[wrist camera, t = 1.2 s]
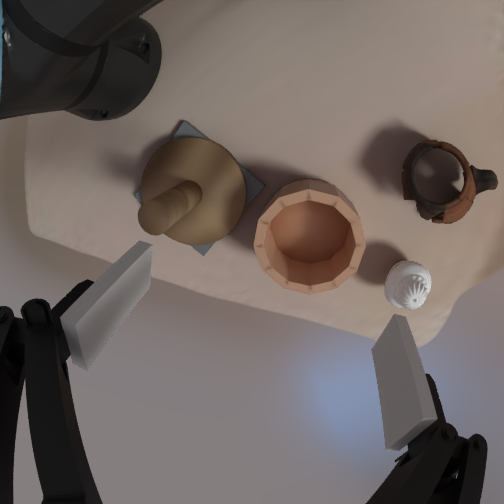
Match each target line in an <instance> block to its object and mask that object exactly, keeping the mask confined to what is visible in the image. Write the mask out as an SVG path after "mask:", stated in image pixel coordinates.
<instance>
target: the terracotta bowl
mask: <svg viewBox="0 0 504 504" xmlns="http://www.w3.org/2000/svg"><path fill="white" fill-rule="evenodd" d="M253 247H254V249H255V252H256V254H257V257H258V260H259V262H260V265H261V268H262V270H263V272H265V273H266V274H267V275H268V276H269V277H271V278H272V279H273V280H274V281H275V282H277V283H278V284H279V285H280V286H281V287H283V288H285V289H289V290H293V291H298V292H302V293H306V294H314V293H318V292H322V291H327V290H331V289H335V288H337V287H339V286H340V285H341V284H342V283H343V282H344V281H346V280H347V279H348V278H349V277H350V276H352V275H353V274H354V273H355V272H356V271H357V269H358V267H359V264H360V261H361V258H362V256H363V253H364V250H365V247H366V242H365V238H364V233H363V229H362V224H361V220H360V217H359V215H358V213H357V211H356V209H355V207H354V205H353V203H352V202H351V201H350V200H349V199H348V198H347V197H346V196H345V195H344V193H343V192H341V191H340V190H339V189H338V188H337V187H336V186H335V185H331V184H329V183H327V182H324V181H321V180H315V179H304V180H298V181H295V182H292V183H289V184H288V185H285V186H283V187H282V188H281V189H280V190H279V191H278V192H276V193H275V194H274V196H273V197H272V198H271V200H270V201H269V202H268V203H267V204H266V205H265V207H264V209H263V211H262V213H261V215H260V217H259V219H258V224H257V229H256V235H255V240H254V245H253Z"/></svg>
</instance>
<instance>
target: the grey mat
mask: <svg viewBox="0 0 504 504" xmlns="http://www.w3.org/2000/svg"><path fill="white" fill-rule="evenodd" d="M187 137H200V138H205V139H208V140H210V139H209V138H208V137H207V136H205V135H204V134H203V133H201V132H200V131H199V130H198V129H196V128H195V127H194V126H193V125H191V124H190V123H189V122H188V121H184V122H183V124H182V125H181V126H180V128H179V129H178V131H177V132H176V133H175V135H174V136H173V138H172V139H171V141H174V140H177V139H181V138H187ZM171 141H170V142H171ZM239 165H240V167H241V169H242V171H243V174H244V177H245V180H246V186H247V199H246V205H245V208H246V206H247V205H248V204H249V203H250V202H251V201H252V200H253V199H254V197H255V196H256V195H257V194H258V193H259V192H260V191H261V190H262V189H263V187H264V186H265V185H264V184H263V183H262V182H261V181H260V180H258V179H257V178H256V177H255V176H254V175H253V174H251V173H250V172H249V171H248V170H247V169H245V168H244V167H243V166H242V165H241V164H240V163H239ZM135 198H136V199H137V200H138V201H140V202H141V203H142V204H144V203H143V198H142V185H141V187H140V188H139V190H138V192H137V193H136V195H135ZM214 243H215V242H213V243H211V244H206V245H191V246H192V247H193V248H194V249H196V250H197V251H198V252H199V253H200V254H202V255H203V256H204V255H205V254H206V252H207V251H208V250H209V249H210V248H211V247H212V245H213V244H214Z"/></svg>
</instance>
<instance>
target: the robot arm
mask: <svg viewBox="0 0 504 504" xmlns="http://www.w3.org/2000/svg"><path fill="white" fill-rule="evenodd" d="M162 1H163V0H0V120H1V119H6V118H11V117H17V116H23V115H29V114H36V113H44V112H52V111H60V110H65V111H67V112H70V113H72V114H75V115H77V116H80V117H82V118H84V119H88V120H93V121H102V120H112V119H116V118H119V117H122V116H124V115H126V114H127V113H129V112H131V111H132V110H133V109H135V108H136V107H137V106H138V105H139V104H140V103H141V102H142V101H143V100H144V99H145V97H146V96H147V95H148V93H149V92H150V90H151V88H152V87H153V85H154V83H155V81H156V78H157V76H158V73H159V69H160V65H161V57H162V50H161V43H160V39H159V36H158V34H157V32H156V30H155V29H154V27H153V26H152V25H151V24H150V23H149V22H147V21H146V20H144V19H142V18H140V17H139V16H140V15H142V14H143V13H145V12H146V11H148V10H149V9H151V8H152V7H154V6H155V5H157V4H159V3H160V2H162ZM151 257H152V244H149V243H146V242H143V241H138V242H137V243H136V244H135V245H134V246H133V247H132V248H131V249H130V250H128V251H127V252H126V253H125V254H124V255H123V256H122V257H121V258H120V259H119V260H118V261H117V262H115V263H114V264H113V265H112V266H111V267H110V268H109V269H108V270H107V271H106V272H105V273H104V274H103V275H102V276H101V277H100V278H99V279H98V280H96V282H93V281H90V280H88V279H87V280H85V281H83V282H81V283H79V284H77V285H76V286H75V287H74V288H73V289H72V290H71V291H70V292H69V293H68V294H67V295H66V297H64V298H63V299H62V300H61V301H60V302H59V303H58V304H57V305H56V306H55V307H53V309H52V310H51V308H50V305H49V303H48V302H47V301H46V300H43V299H32V300H29V301H27V302H26V303H25V304H24V305H23V306H22V308H21V314H22V317H23V319H21V318H17V317H14V314H13V311H12V309H10V308H9V307H7V306H0V504H13V467H14V450H15V439H16V429H17V421H18V414H19V407H20V401H21V395H22V390H23V385H24V380H25V381H26V382H25V383H26V398H27V410H28V419H29V427H30V434H31V440H32V447H33V452H34V458H35V462H36V467H37V471H38V476H39V480H40V484H41V488H42V491H43V501H42V504H103V503H102V501H101V498H100V496H99V493H98V490H97V487H96V485H95V482H94V479H93V476H92V473H91V470H90V467H89V464H88V460H87V457H86V454H85V450H84V447H83V443H82V439H81V435H80V431H79V427H78V423H77V418H76V414H75V409H74V404H73V399H72V393H71V387H70V381H69V375H68V367H67V363H66V360H67V359H68V358H69V356H70V355H71V358H72V362H73V364H75V365H77V366H79V367H81V368H83V369H85V370H88V369H89V367H90V366H91V365H92V363H93V362H94V360H95V359H96V358H97V356H98V355H99V353H100V352H101V351H102V349H103V348H104V347H105V345H106V344H107V342H108V341H109V340H110V338H111V337H112V336H113V334H114V333H115V332H116V330H117V329H118V328H119V326H120V325H121V324H122V322H123V321H124V320H125V318H126V317H127V316H128V314H129V313H130V312H131V311H132V309H133V308H134V307H135V305H136V304H137V303H138V301H139V300H140V299H141V298H142V296H143V295H144V294H145V293H146V291H147V290H148V289H149V288H150V275H151ZM372 355H373V360H374V365H375V371H376V378H377V384H378V390H379V397H380V404H381V412H382V419H383V428H384V437H385V447H386V450H400V449H402V448H403V447H405V446H406V445H408V451H407V452H405V453H404V454H403V455H402V456H400V457H399V458H397V459H396V460H395V462H397V461H398V460H399V462H398V463H397V465H396V466H395V468H394V469H393V470H392V471H391V473H390V474H389V476H388V477H387V478H386V480H385V481H384V482H383V483H382V485H381V486H380V487H379V488H378V490H377V491H376V492H375V493H374V495H373V496H372V497H371V498H370V499H369V501H368V502H367V503H366V504H480V498H481V494H482V488H483V482H484V475H485V468H486V460H487V443H486V440H485V439H484V437H483V436H481V435H480V434H474V435H472V436H471V437H470V438H469V439H466V438H463V437H460V436H458V433H457V431H456V429H455V428H454V427H453V426H452V425H451V424H449V423H446V420H445V416H444V413H443V409H442V405H441V402H440V399H439V395H438V393H437V388H436V385H435V382H434V380H433V379H432V377H431V376H430V374H425V372H424V369H423V365H422V362H421V359H420V356H419V353H418V350H417V347H416V344H415V341H414V338H413V336H412V333H411V330H410V327H409V325H408V322H407V319H406V317H405V316H401V315H397V314H394V315H393V317H392V318H391V320H390V322H389V323H388V325H387V326H386V328H385V330H384V331H383V333H382V334H381V336H380V337H379V339H378V341H377V342H376V344H375V345H374V347H373V348H372ZM457 474H458V476H457V479H456V475H457Z"/></svg>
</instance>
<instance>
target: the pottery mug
mask: <svg viewBox="0 0 504 504" xmlns="http://www.w3.org/2000/svg"><path fill="white" fill-rule="evenodd" d="M434 148H439V149H442V150H444V151H447V152H449V153H451V154H452V155H453V156H455V157H456V158H457V160H458V161H459V162H460V164H461V166H462V168H463V171H464V172H463V176H464V186H463V189H462V191H461V192H460V194H459V195H458V196H457V197H456V198H455V199H454V200H452V201H450V202H447V203H444V204H438V203H433V202H431V201H429V200H427V199H426V198H424V197H423V196H422V195H421V194H420V193H419V192H418V190H417V188H416V186H415V183H414V178H413V172H414V166H415V164H416V162H417V160H418V159H419V157H420V156H421V155H423V154H424V153H425V152H427V151H429V150H431V149H434ZM403 169H404V170H403V172H402V184H403V192H404V194H403V195H404V200H415V201H416V202H417V203H416V207H417V210H418V211H419V213H420V216H421V217H422V218H424V219H426V220H430V218H431V217H432V222H433V223H444V224H451V223H453V222H456V221H458V220H460V219H461V218H462V217H463V216H464V215H465V214H466V213H467V211H469V209H470V208H471V206H472V204H473V200H474V198H475V196H476V195H477V194H479V193H480V192H483V191H485V190H494V189H496V187H497V185H498V180H497V176H496V174H495V173H494V172H493V171H492V170H480V169H477V168H475V167H474V166H473V165H471V166H469V162H468V161H467V160H466V158H465V156H464V155H463V154H462V153H461V151H460V150H458V149H457V148H456V147H454V146H453V145H452V144H449V143H446V142H442V141H441V142H438V141H437V140H428V141H424V142H422V143H419V144H417V145H416V146H415V147H414V148H413V149H412V150H411V151H410V153H409V154H408V155H407V157H406V159H405V161H404V164H403ZM441 212H443V216H441V217H434V216H436V215H437V214H439V213H441Z"/></svg>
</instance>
